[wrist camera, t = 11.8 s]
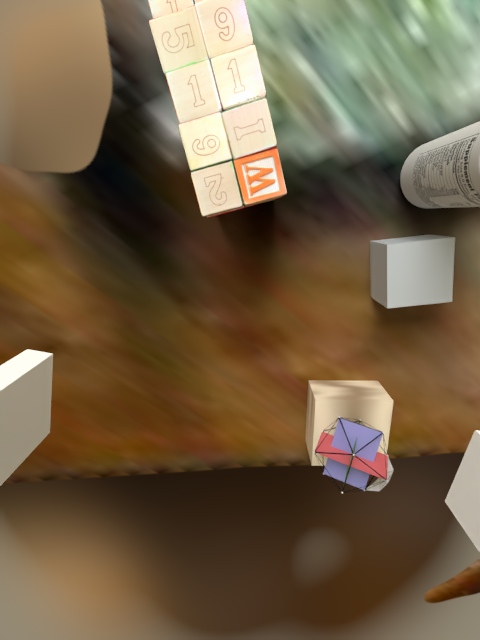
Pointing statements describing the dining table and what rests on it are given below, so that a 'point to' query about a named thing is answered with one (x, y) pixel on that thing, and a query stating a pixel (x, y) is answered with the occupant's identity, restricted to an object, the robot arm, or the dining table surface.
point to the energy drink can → (445, 171)
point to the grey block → (412, 270)
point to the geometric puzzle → (355, 455)
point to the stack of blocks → (218, 102)
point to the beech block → (345, 410)
